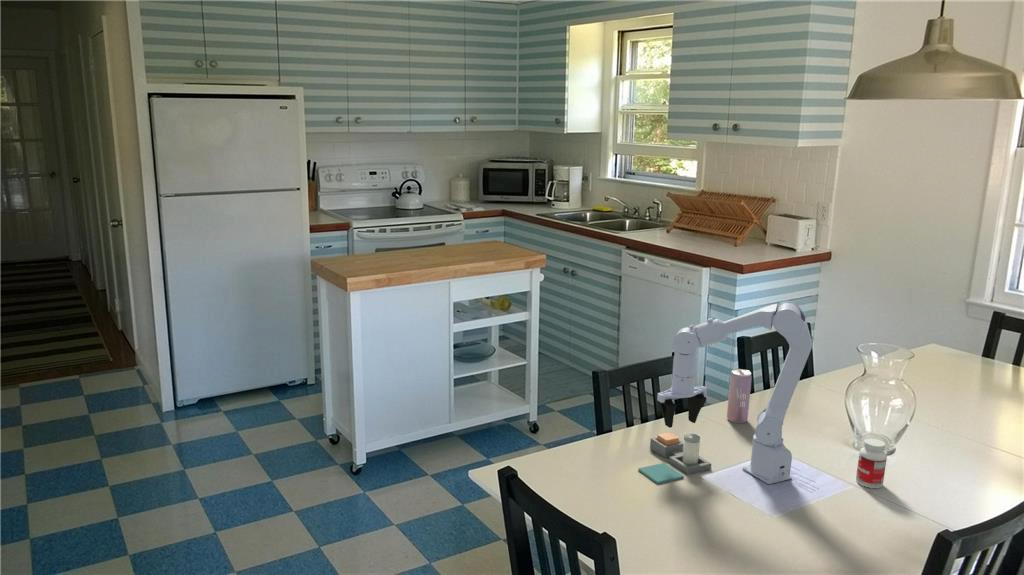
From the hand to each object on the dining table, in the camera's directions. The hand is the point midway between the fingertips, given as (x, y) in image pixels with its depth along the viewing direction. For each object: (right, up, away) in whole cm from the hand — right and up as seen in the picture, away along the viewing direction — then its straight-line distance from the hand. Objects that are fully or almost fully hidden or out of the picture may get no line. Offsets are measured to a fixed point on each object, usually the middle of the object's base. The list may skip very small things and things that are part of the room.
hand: (680, 423), depth 202 cm
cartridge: (+2, -10, -2) cm, 11 cm away
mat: (-7, -11, -8) cm, 15 cm away
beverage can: (+23, -4, +29) cm, 37 cm away
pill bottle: (+45, -13, -10) cm, 48 cm away
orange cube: (-2, -8, +6) cm, 10 cm away
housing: (0, -9, +2) cm, 9 cm away
